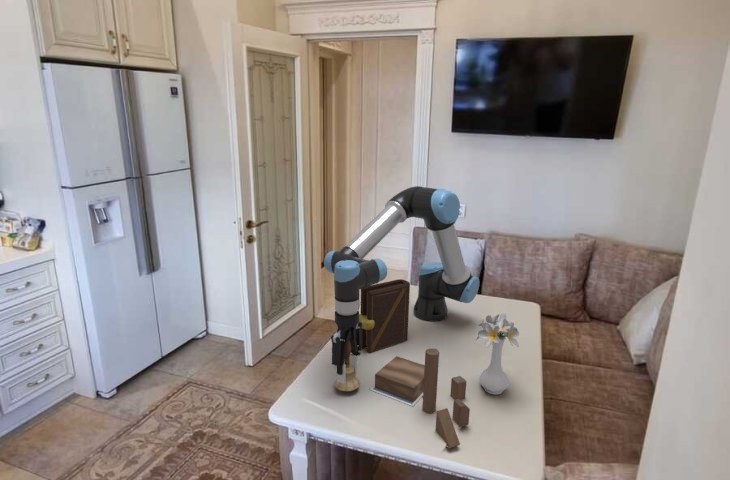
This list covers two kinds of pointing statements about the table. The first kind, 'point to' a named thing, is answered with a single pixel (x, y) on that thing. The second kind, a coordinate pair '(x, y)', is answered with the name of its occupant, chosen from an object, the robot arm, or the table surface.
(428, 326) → the table surface
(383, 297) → the book
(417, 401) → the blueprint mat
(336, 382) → the hand bell
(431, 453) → the table surface
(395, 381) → the walnut plinth
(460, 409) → the wooden blocks
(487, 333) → the flower vase
